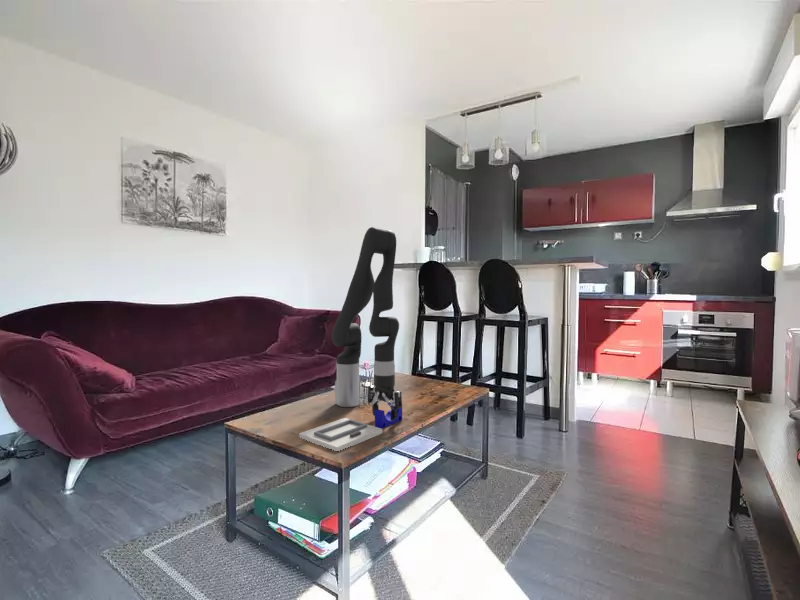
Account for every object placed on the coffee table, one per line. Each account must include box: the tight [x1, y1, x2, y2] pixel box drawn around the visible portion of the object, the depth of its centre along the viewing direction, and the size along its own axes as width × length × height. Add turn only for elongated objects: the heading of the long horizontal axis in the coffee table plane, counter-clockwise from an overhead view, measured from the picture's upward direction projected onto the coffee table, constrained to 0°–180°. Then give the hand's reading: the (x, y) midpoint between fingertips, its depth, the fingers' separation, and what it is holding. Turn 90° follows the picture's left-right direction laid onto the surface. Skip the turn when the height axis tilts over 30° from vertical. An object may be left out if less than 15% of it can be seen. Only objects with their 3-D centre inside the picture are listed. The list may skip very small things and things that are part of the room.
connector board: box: [298, 417, 383, 452], centre depth 138 cm, size 18×20×2 cm
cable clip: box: [374, 405, 403, 430], centre depth 150 cm, size 12×4×6 cm, turn 144°
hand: (384, 417), depth 151 cm, fingers open, 8 cm apart
